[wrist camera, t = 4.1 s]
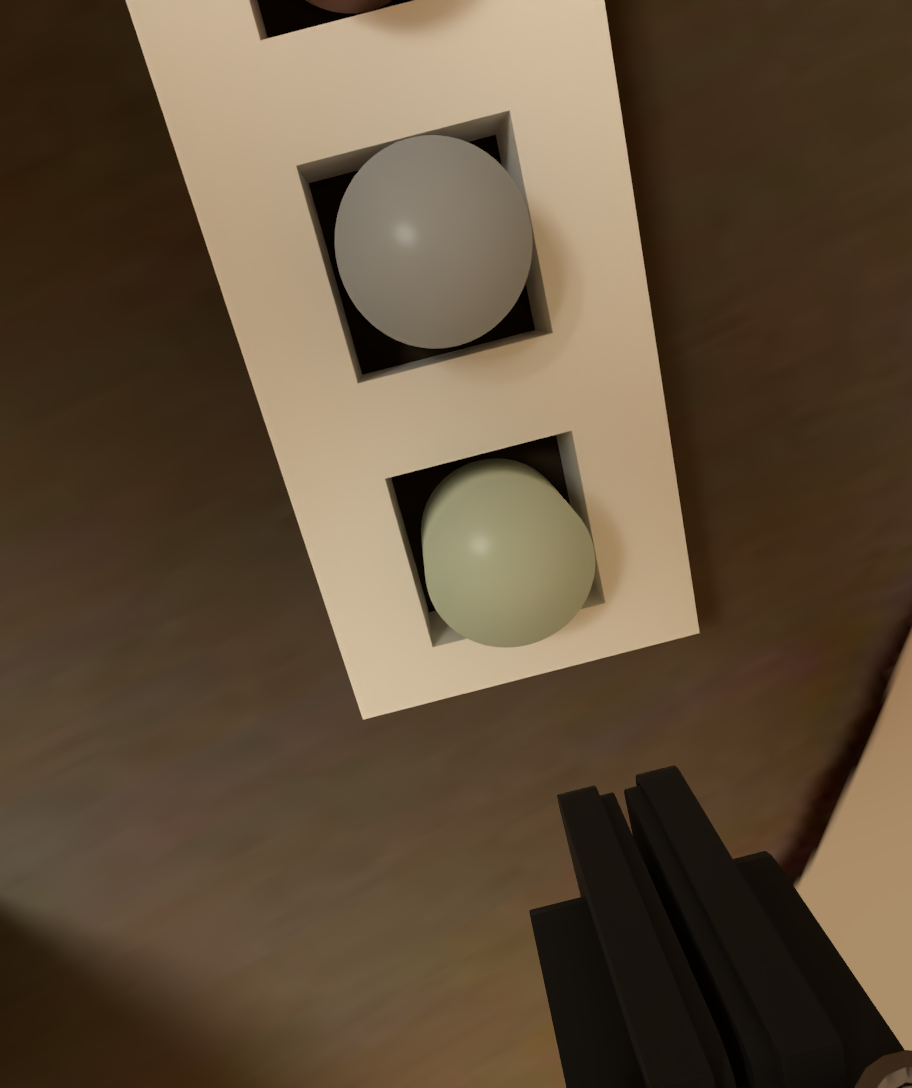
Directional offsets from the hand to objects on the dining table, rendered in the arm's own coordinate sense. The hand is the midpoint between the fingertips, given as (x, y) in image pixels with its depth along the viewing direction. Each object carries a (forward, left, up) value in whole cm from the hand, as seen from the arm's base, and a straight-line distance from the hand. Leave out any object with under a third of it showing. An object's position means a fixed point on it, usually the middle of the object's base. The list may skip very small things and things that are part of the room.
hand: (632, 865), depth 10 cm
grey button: (-9, 0, -16) cm, 18 cm away
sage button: (0, 0, -16) cm, 16 cm away
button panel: (-9, 0, -17) cm, 20 cm away
